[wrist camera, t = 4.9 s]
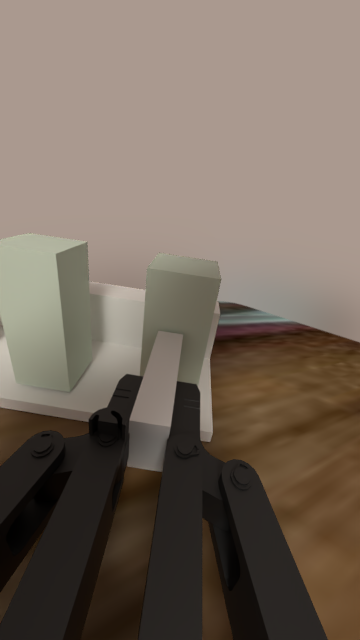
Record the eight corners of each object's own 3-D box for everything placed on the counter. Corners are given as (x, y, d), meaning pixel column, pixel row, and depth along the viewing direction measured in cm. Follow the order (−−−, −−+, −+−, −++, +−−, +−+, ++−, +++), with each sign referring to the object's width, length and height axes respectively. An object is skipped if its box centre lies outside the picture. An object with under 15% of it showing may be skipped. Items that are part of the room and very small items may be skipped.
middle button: (92, 359, 21) (87, 241, 17) (69, 392, 18) (55, 253, 13) (47, 352, 21) (30, 233, 17) (16, 383, 18) (-17, 242, 13)
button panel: (207, 350, 27) (218, 301, 24) (210, 442, 17) (229, 375, 14) (-10, 315, 28) (-23, 263, 25) (-135, 385, 17) (-181, 310, 15)
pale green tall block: (194, 375, 21) (217, 261, 16) (192, 412, 17) (221, 279, 13) (148, 368, 21) (159, 252, 17) (137, 403, 18) (147, 267, 13)
